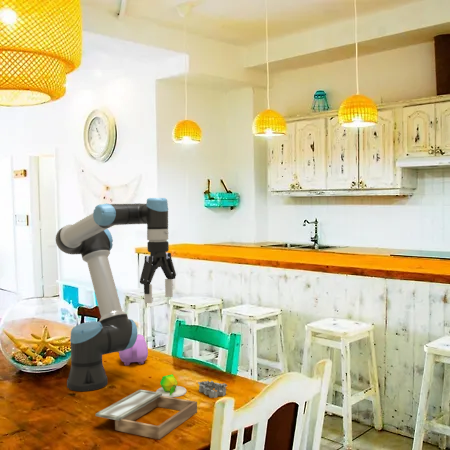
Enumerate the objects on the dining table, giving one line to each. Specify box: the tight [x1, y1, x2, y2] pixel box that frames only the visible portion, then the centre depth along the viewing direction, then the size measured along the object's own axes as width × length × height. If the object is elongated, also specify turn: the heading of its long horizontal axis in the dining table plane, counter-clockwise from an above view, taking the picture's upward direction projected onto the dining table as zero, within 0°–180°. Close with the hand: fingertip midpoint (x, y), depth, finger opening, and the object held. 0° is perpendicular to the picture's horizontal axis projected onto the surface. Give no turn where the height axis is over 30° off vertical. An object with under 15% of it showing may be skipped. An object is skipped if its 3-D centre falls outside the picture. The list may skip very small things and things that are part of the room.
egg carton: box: [197, 380, 228, 399], centre depth 200 cm, size 11×8×4 cm
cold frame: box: [95, 389, 198, 440], centre depth 176 cm, size 23×24×4 cm
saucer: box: [155, 385, 187, 398], centre depth 201 cm, size 11×11×1 cm
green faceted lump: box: [159, 374, 178, 395], centre depth 200 cm, size 7×6×9 cm
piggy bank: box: [118, 333, 149, 366], centre depth 241 cm, size 20×12×13 cm, turn 14°
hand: (159, 299), depth 197 cm, fingers open, 13 cm apart
